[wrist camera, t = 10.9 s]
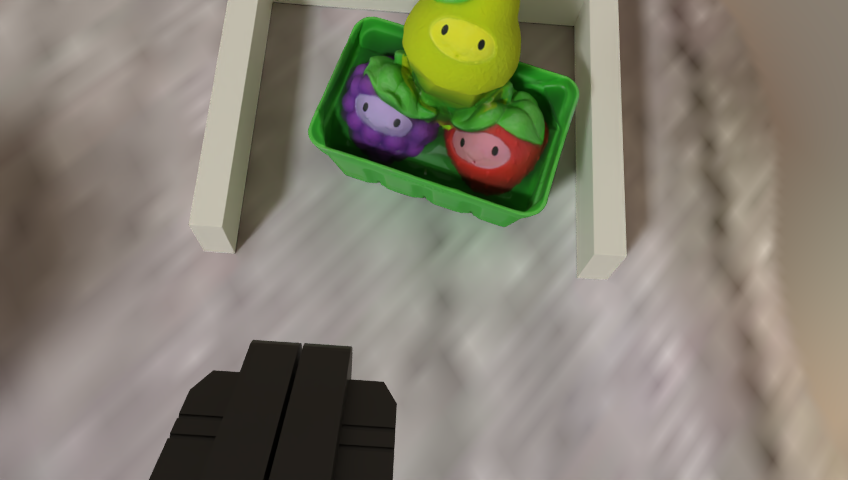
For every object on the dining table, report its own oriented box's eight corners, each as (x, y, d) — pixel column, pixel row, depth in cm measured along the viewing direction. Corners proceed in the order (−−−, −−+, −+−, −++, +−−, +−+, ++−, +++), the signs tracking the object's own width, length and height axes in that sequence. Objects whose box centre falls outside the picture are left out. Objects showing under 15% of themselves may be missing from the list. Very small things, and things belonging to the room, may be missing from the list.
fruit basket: (309, 188, 42) (286, 65, 31) (369, 50, 45) (366, -104, 34) (522, 259, 41) (572, 158, 30) (567, 113, 44) (627, -24, 33)
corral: (606, 280, 40) (626, 256, 37) (204, 251, 40) (188, 224, 37) (600, 6, 46) (616, -35, 43) (249, -22, 46) (239, -66, 43)
